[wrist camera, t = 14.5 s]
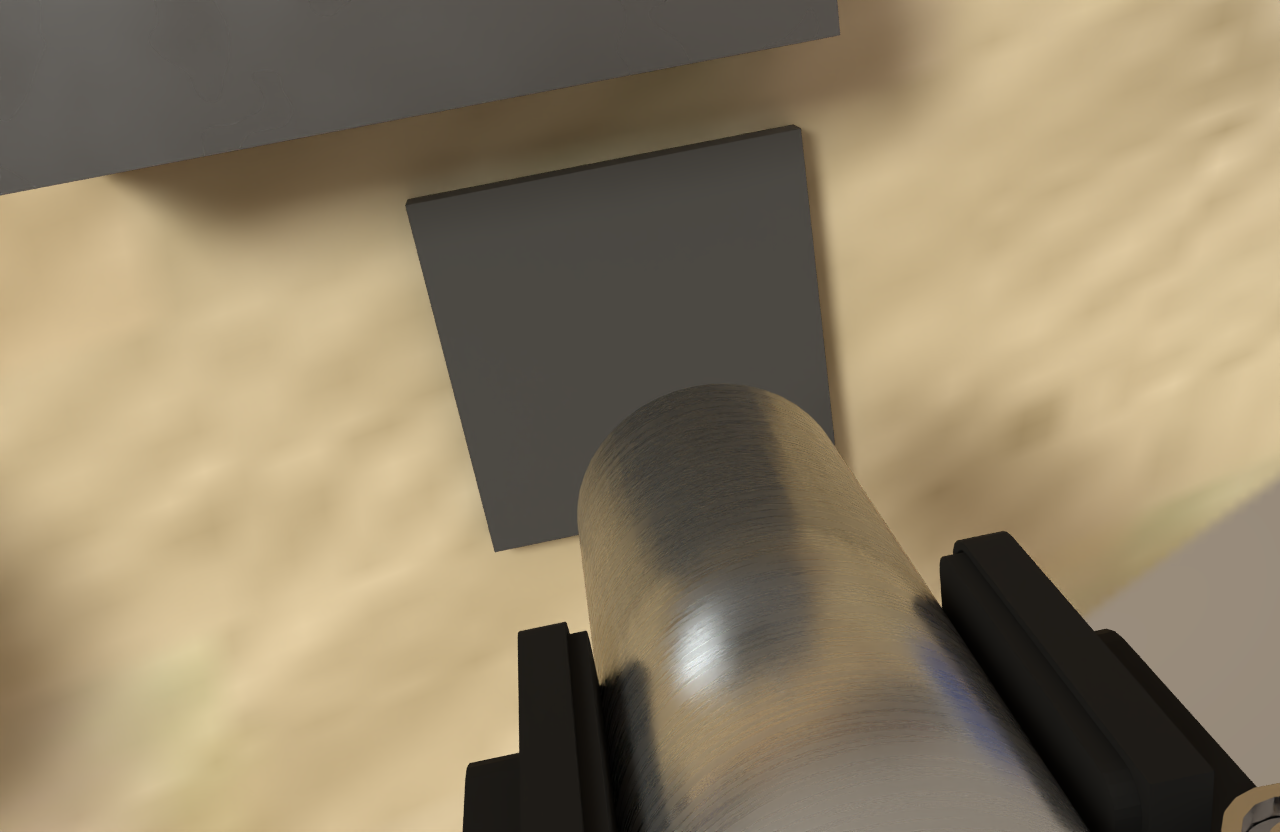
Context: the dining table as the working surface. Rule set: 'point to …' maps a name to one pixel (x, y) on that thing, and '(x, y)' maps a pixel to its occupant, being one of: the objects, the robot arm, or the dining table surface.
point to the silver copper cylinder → (781, 641)
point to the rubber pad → (616, 306)
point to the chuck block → (322, 66)
